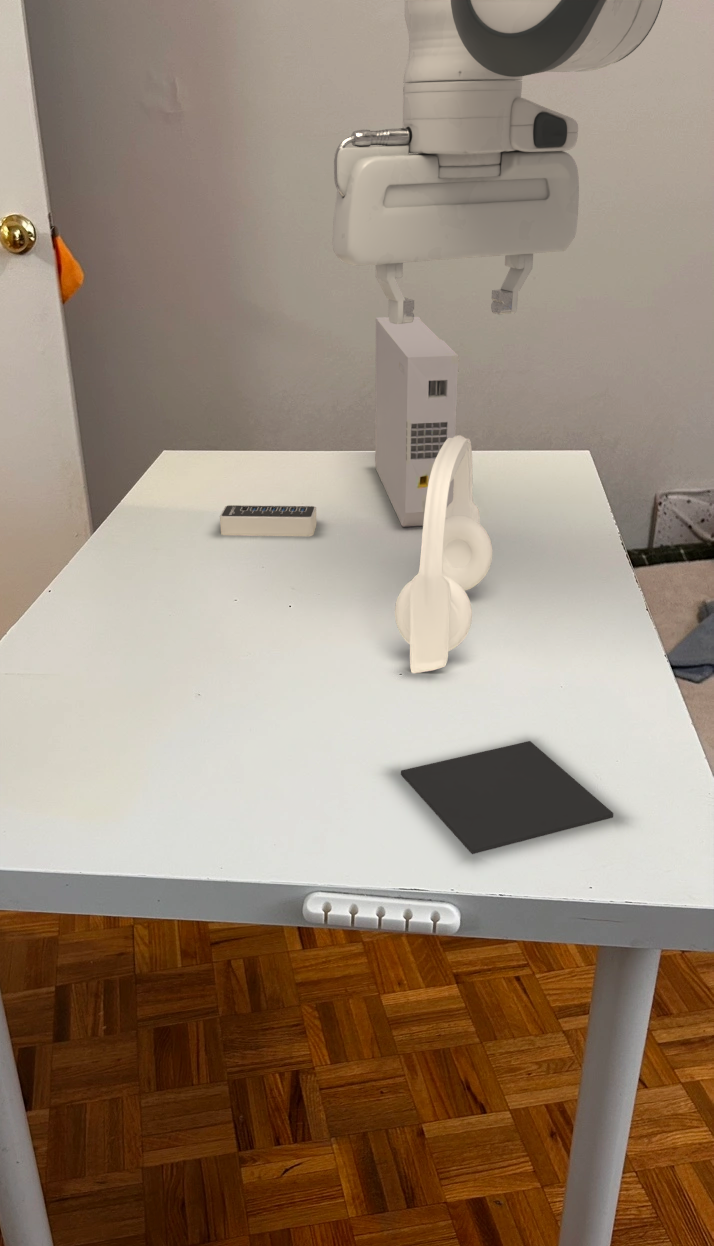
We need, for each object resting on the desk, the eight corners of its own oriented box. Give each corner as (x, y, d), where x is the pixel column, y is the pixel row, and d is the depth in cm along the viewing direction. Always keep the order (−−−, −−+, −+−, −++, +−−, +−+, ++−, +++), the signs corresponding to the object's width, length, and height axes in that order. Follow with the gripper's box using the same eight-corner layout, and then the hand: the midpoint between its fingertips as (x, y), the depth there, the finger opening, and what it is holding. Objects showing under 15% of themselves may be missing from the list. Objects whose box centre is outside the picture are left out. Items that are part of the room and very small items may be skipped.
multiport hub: (313, 536, 129) (312, 517, 128) (220, 535, 130) (219, 516, 129) (316, 524, 133) (316, 505, 132) (226, 523, 134) (225, 504, 133)
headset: (465, 683, 95) (475, 479, 86) (384, 675, 97) (386, 475, 88) (492, 596, 112) (503, 418, 103) (422, 590, 114) (427, 415, 105)
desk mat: (529, 745, 85) (530, 740, 85) (613, 817, 76) (613, 813, 76) (400, 774, 82) (400, 770, 82) (472, 854, 73) (472, 849, 73)
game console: (416, 466, 153) (420, 315, 144) (454, 531, 129) (461, 355, 120) (375, 468, 153) (375, 317, 143) (405, 534, 129) (407, 357, 119)
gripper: (350, 130, 78) (351, 334, 85) (597, 123, 85) (579, 313, 91) (318, 130, 83) (321, 322, 90) (552, 123, 90) (539, 303, 96)
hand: (453, 318), depth 91 cm, fingers open, 8 cm apart
